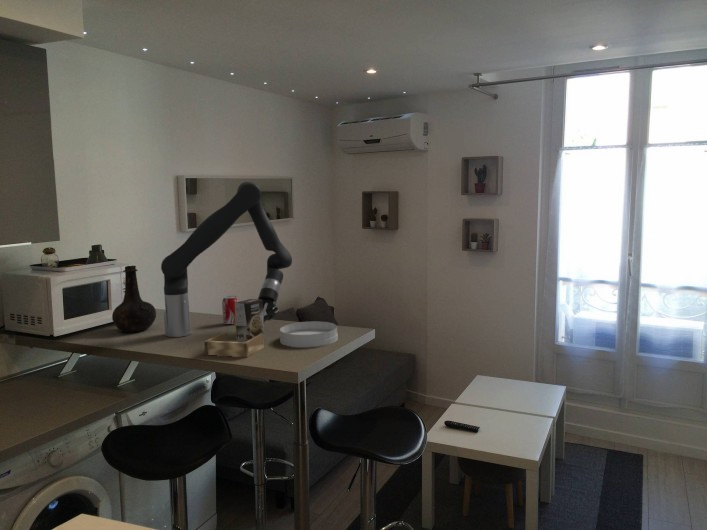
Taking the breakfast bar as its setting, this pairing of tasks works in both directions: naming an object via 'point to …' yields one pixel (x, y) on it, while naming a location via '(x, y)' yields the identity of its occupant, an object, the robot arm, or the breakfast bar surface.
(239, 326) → the coffee box
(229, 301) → the soda can
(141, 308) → the glass bottle
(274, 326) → the breakfast bar surface
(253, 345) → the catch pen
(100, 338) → the breakfast bar surface
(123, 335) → the breakfast bar surface
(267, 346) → the breakfast bar surface
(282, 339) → the dish
